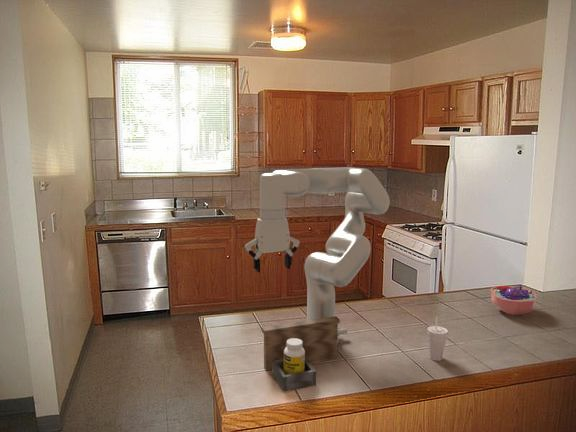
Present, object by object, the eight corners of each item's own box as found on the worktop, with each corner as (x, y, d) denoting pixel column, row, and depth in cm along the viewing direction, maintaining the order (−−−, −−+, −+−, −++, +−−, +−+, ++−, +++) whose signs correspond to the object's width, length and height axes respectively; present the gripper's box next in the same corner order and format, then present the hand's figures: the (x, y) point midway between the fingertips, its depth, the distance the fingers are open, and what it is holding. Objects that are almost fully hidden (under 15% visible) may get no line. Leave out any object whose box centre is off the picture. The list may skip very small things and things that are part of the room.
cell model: (537, 308, 193) (540, 282, 191) (532, 325, 176) (535, 296, 174) (493, 300, 202) (495, 275, 200) (485, 315, 185) (487, 288, 183)
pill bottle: (280, 379, 135) (280, 344, 133) (287, 369, 141) (288, 335, 139) (300, 384, 133) (300, 347, 131) (307, 373, 139) (308, 339, 137)
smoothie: (422, 353, 153) (424, 313, 151) (441, 352, 154) (444, 312, 151) (430, 363, 147) (432, 321, 145) (449, 362, 148) (452, 320, 145)
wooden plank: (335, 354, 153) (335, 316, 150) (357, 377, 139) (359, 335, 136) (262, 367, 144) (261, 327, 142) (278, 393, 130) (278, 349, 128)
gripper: (294, 210, 146) (294, 263, 149) (241, 214, 140) (242, 268, 143) (303, 214, 139) (303, 269, 142) (247, 218, 133) (248, 275, 136)
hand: (272, 269), depth 143 cm, fingers open, 9 cm apart
